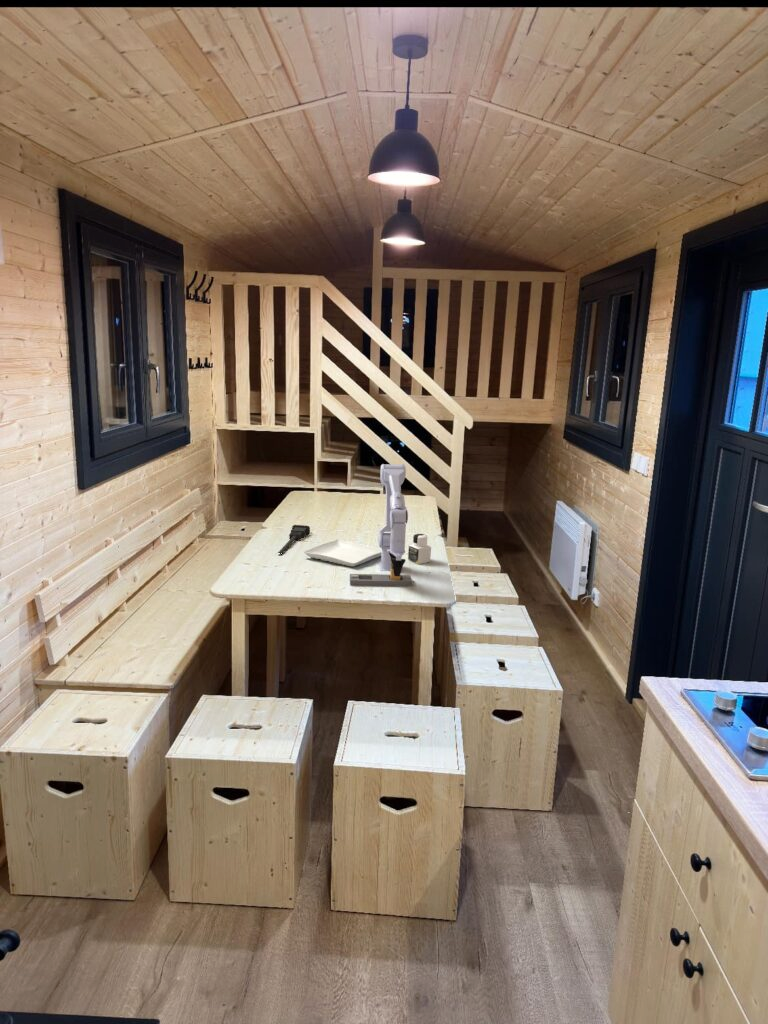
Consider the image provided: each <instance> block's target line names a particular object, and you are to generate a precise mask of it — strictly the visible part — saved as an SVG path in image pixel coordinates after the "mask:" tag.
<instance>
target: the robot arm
mask: <svg viewBox="0 0 768 1024" xmlns="http://www.w3.org/2000/svg"><path fill="white" fill-rule="evenodd" d="M406 472H407V471H406V465H405V464H392V463H391V464H387V463H386V464H384V463H382V464H381V465H380V476H379V477H380V484H381V485H383V486H384V488H385V525H384V526H382V527H381V528H379V531H378V537H377V539H378V545H377V546H378V548H381V549H382V552H381V556H380V559H381V560H380V563H379V564H378V566H379V570H380V572H391V563H392V564H393V570H394V576H400V575H402V569H403V567H404V564H405V562H406V559H405V558H402V557H403V555H405V553H406V550H405V548H406V533H407V531H406V529H407V524H408V521H409V513H408V512H409V511H408V508H407V506H406V503H405V502H406V501H405V496H404V495H403V494H402V492H401V491H402V487H401V486H402V485H403V483H404V481H405V479H406Z"/></svg>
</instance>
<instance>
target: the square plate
mask: <svg viewBox="0 0 768 1024" xmlns="http://www.w3.org/2000/svg"><path fill="white" fill-rule="evenodd" d="M302 552H303V553H304V554H305V555H306V556H307V557H310V558H313V559H316V560H318V559H321V560H320V561H322V560H325V561H324V562H326V561H329V562H328V563H331V562H334V563H333V564H335V563H338V564H337V565H339V564H342V565H341V566H344V565H346V567H353V568H354V567H356V566H360V565H362V564H364V563H366V562H369V561H372V560H374V559H377V558H379V557H381V552H382V548H380V547H376V546H371V545H367V544H363V543H359V542H355V541H348V540H344V539H335V540H332V541H329V542H325V543H322V544H320V545H316V546H313V547H312V548H308V549H307V550H306V549H305V550H304V551H302ZM359 564H360V565H359Z"/></svg>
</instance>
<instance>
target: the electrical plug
mask: <svg viewBox="0 0 768 1024" xmlns="http://www.w3.org/2000/svg"><path fill="white" fill-rule="evenodd" d="M309 534H311V527H310V526H309V525H302V524H293V525H292V527H291V529H290V533H289V537H288V538H289V539H290V540H288V541H287V542H286V543H285V545H283V547H282V548H280V549H279V551H278V552H277V553H280V554H281V553H283V552H284V551H285V552H286V550H287V549H289V547H290V546H291V545H292V544H293V543H294V542H295V541H297V540H300V539H301V540H302V538H304V539H305V537H306V536H308V535H309ZM301 540H300V541H301ZM285 552H284V553H285ZM284 553H283V554H284Z"/></svg>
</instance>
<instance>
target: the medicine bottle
mask: <svg viewBox="0 0 768 1024" xmlns="http://www.w3.org/2000/svg"><path fill="white" fill-rule="evenodd" d="M412 539H413V541H412V544H409V545H408V554H407V560H408V561H409V562H411V563H413V562H414V563H413V564H416V565H421V564H422V563H423V564H428V563H427V562H429V563H431V555H432V552H431V551H432V547H431V546H430V545H428V536H427V534H424V533H415V534H414V535H413V538H412Z"/></svg>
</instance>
